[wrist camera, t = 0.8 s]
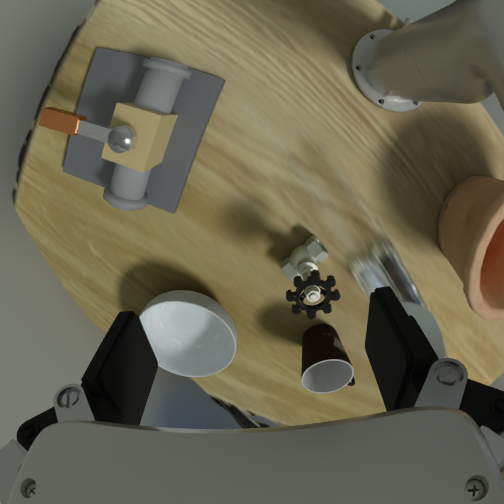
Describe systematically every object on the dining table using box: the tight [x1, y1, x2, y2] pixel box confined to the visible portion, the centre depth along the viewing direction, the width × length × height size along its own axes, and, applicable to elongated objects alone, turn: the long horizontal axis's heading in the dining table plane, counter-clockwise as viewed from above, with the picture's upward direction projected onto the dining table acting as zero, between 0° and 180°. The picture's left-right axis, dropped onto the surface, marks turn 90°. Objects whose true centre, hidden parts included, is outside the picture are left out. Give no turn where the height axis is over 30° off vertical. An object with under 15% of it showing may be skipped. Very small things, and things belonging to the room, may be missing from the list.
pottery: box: [437, 175, 504, 320], centre depth 36 cm, size 22×22×14 cm
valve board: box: [63, 47, 225, 214], centre depth 34 cm, size 20×20×9 cm
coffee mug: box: [301, 324, 355, 394], centre depth 50 cm, size 12×9×10 cm
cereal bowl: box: [139, 290, 237, 377], centre depth 50 cm, size 17×17×7 cm
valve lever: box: [39, 107, 139, 153], centre depth 29 cm, size 14×3×2 cm, turn 67°
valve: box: [280, 236, 340, 319], centre depth 41 cm, size 7×7×12 cm
